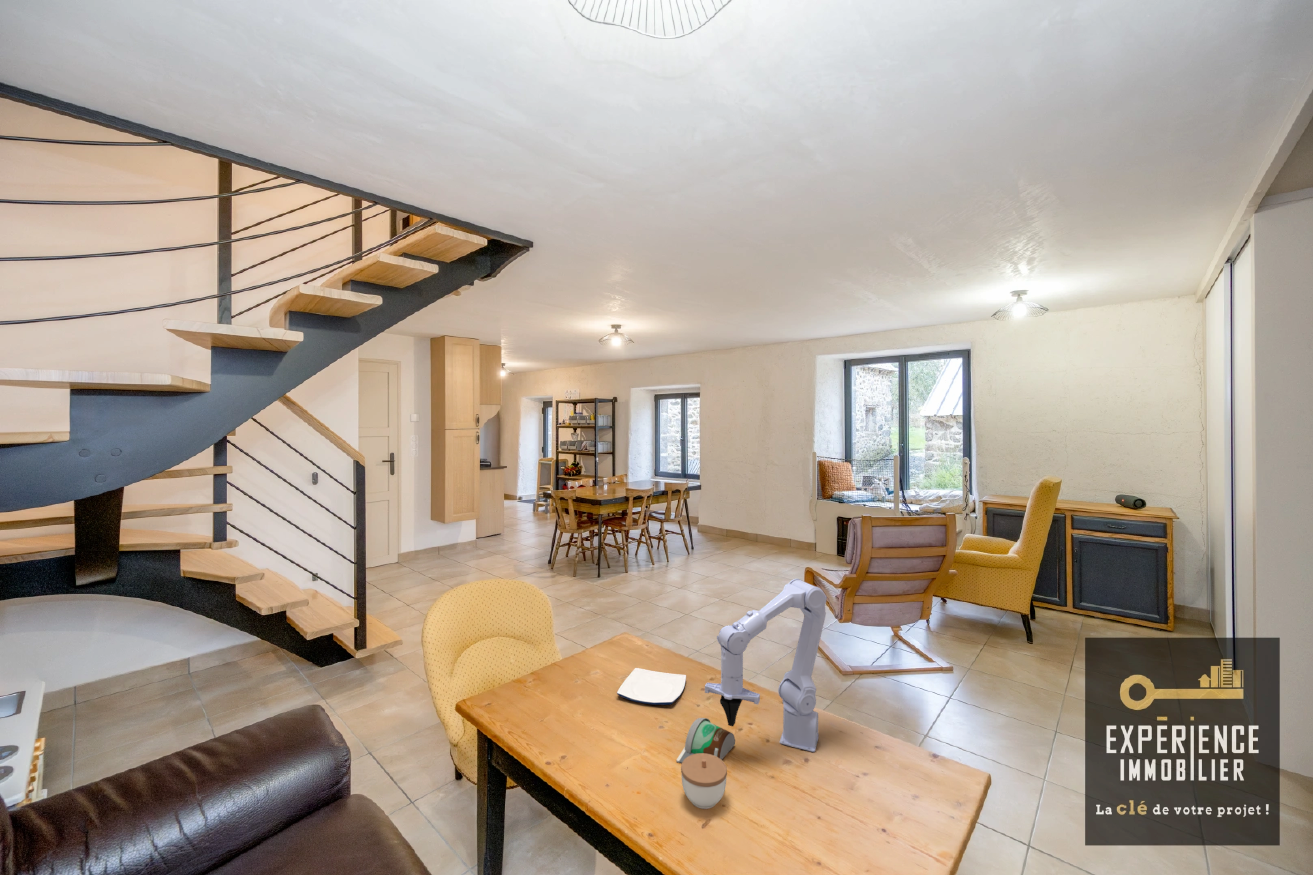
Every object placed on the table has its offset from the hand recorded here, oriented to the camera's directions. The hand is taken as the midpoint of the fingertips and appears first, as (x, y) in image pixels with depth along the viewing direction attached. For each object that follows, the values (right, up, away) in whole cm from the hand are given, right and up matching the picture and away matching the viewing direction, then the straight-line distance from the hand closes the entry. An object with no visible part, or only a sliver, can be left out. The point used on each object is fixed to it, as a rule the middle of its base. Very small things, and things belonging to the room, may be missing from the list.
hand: (731, 723), depth 137 cm
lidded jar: (-9, -9, -16) cm, 20 cm away
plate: (-21, -9, +35) cm, 42 cm away
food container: (-1, -5, +1) cm, 6 cm away
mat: (-7, -9, +3) cm, 12 cm away
